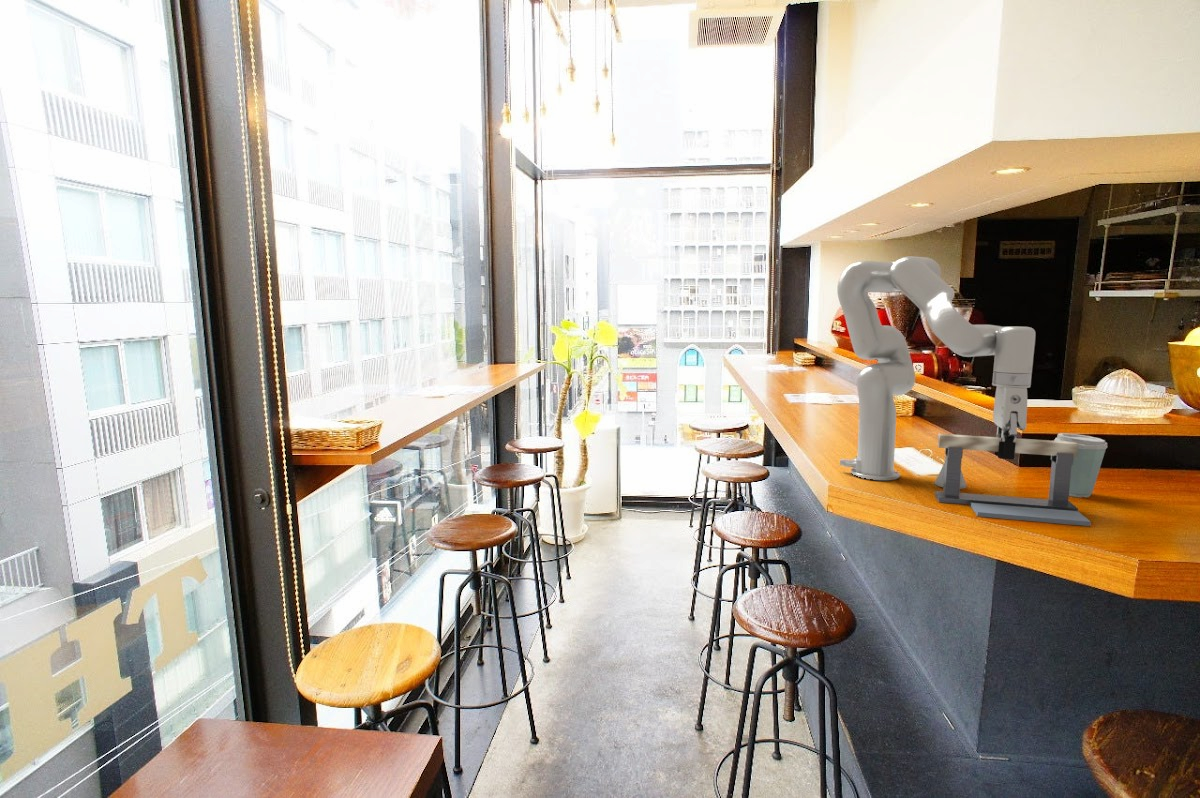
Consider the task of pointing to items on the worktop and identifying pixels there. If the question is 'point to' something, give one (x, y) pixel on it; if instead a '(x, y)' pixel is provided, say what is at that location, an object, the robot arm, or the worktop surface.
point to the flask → (940, 479)
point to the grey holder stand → (1056, 496)
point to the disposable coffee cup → (1084, 463)
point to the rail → (1021, 445)
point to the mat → (1030, 514)
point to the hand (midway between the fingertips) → (1004, 456)
